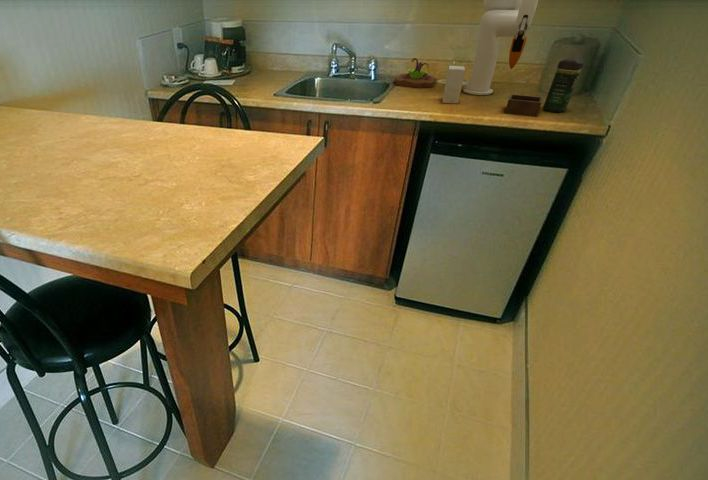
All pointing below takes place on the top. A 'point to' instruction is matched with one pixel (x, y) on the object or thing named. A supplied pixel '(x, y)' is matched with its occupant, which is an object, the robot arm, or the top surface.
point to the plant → (415, 77)
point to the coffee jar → (563, 84)
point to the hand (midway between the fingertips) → (516, 50)
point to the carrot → (515, 53)
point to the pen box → (523, 105)
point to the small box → (453, 84)
